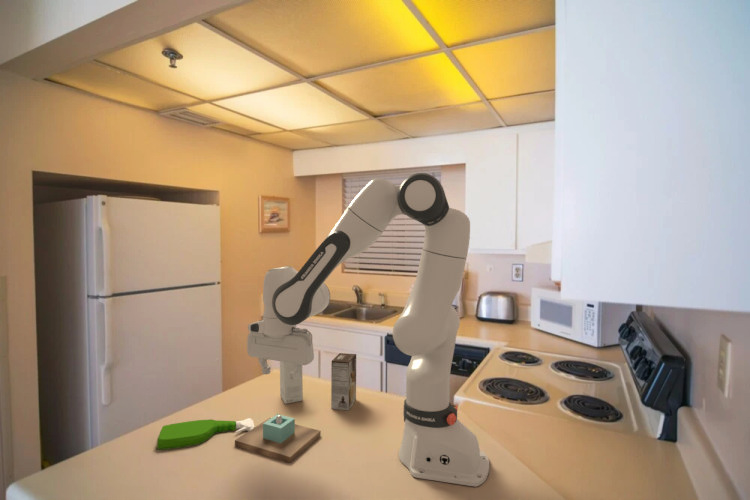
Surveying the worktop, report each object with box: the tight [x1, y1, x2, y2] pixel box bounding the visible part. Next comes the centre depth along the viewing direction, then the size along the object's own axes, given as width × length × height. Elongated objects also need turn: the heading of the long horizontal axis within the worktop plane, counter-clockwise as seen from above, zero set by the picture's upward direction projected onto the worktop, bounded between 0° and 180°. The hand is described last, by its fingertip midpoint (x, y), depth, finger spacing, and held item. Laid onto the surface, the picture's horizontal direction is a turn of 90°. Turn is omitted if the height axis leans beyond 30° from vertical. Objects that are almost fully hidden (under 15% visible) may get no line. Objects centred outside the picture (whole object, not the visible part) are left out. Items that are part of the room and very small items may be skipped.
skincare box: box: [279, 361, 304, 405], centre depth 129 cm, size 8×7×16 cm
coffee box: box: [330, 352, 357, 411], centre depth 124 cm, size 9×6×16 cm
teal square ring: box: [263, 414, 296, 443], centre depth 101 cm, size 6×6×4 cm
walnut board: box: [234, 417, 322, 464], centre depth 101 cm, size 18×14×2 cm
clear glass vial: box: [276, 414, 283, 425], centre depth 101 cm, size 2×2×6 cm
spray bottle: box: [156, 417, 256, 451], centre depth 104 cm, size 3×11×24 cm
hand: (279, 376), depth 101 cm, fingers open, 8 cm apart
